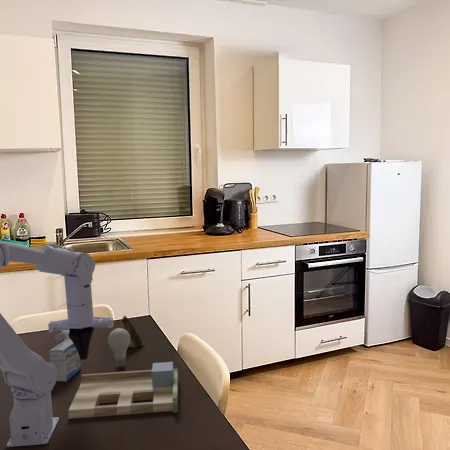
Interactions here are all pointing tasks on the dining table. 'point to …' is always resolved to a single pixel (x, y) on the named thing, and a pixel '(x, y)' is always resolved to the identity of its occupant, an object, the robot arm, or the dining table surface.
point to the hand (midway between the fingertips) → (84, 358)
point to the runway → (122, 394)
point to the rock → (130, 332)
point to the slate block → (162, 374)
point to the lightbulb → (119, 344)
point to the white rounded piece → (62, 336)
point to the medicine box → (65, 360)
